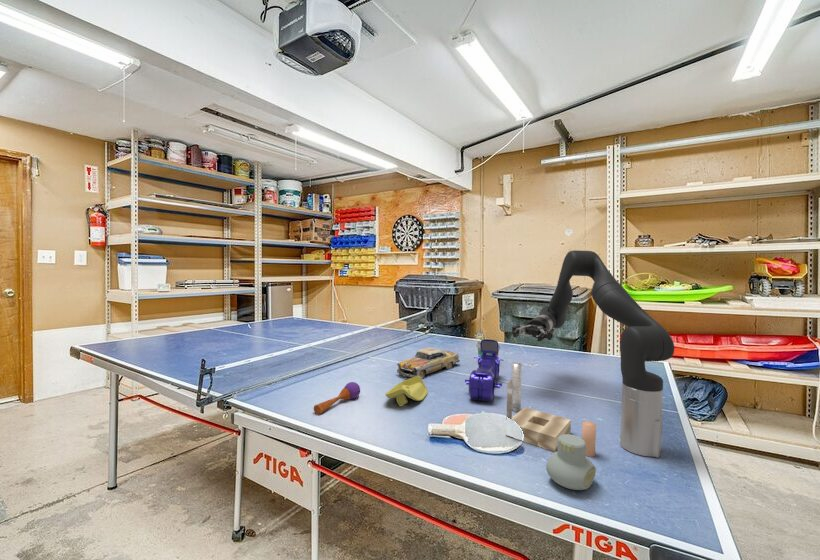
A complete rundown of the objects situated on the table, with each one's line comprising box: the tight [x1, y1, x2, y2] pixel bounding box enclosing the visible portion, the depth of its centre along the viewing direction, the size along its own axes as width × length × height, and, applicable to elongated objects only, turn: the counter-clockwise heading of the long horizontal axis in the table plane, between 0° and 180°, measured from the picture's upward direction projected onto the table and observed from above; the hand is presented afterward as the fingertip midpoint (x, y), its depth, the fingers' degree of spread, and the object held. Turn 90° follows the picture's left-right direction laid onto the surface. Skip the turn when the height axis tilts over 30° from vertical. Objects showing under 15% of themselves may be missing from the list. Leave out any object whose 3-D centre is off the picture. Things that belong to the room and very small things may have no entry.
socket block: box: [506, 380, 572, 453], centre depth 106 cm, size 14×14×16 cm
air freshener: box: [545, 433, 597, 491], centre depth 84 cm, size 11×8×10 cm
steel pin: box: [511, 361, 523, 413], centre depth 123 cm, size 3×3×16 cm
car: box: [396, 347, 460, 380], centre depth 167 cm, size 12×34×10 cm, turn 137°
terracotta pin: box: [581, 420, 597, 458], centre depth 96 cm, size 3×3×8 cm
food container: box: [476, 340, 501, 357], centre depth 178 cm, size 12×6×10 cm, turn 47°
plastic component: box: [385, 375, 429, 407], centre depth 133 cm, size 20×7×10 cm
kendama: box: [313, 381, 361, 415], centre depth 128 cm, size 6×6×20 cm
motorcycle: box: [464, 339, 505, 403], centre depth 144 cm, size 35×14×18 cm, turn 162°
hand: (526, 336), depth 129 cm, fingers open, 8 cm apart
